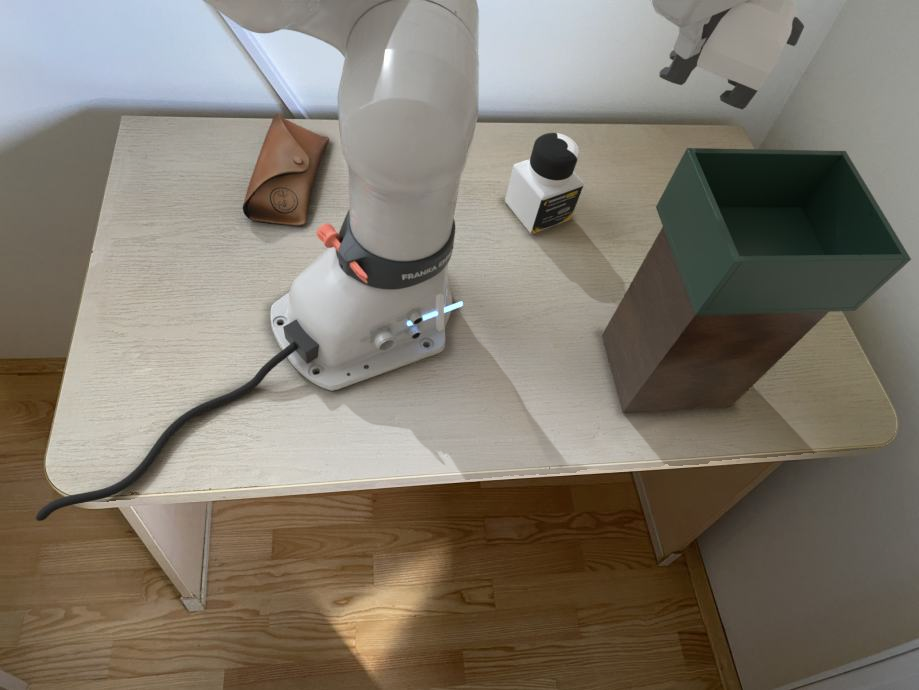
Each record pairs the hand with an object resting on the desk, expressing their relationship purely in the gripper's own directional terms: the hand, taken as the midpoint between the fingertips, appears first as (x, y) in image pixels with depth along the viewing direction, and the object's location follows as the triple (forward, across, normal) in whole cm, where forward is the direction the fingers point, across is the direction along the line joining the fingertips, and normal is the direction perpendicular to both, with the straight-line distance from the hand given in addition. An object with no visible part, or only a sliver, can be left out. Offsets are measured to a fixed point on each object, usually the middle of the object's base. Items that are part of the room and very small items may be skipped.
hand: (714, 40), depth 59 cm
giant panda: (+4, 0, 0) cm, 4 cm away
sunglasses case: (+36, +24, -38) cm, 57 cm away
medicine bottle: (+36, -2, -14) cm, 39 cm away
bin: (+14, +2, +15) cm, 20 cm away
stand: (+36, +2, +15) cm, 39 cm away
